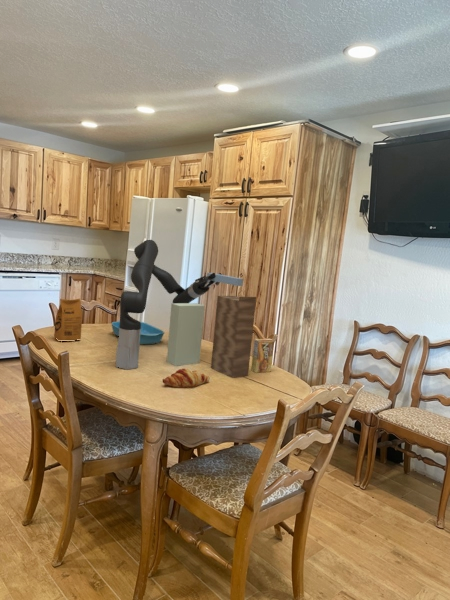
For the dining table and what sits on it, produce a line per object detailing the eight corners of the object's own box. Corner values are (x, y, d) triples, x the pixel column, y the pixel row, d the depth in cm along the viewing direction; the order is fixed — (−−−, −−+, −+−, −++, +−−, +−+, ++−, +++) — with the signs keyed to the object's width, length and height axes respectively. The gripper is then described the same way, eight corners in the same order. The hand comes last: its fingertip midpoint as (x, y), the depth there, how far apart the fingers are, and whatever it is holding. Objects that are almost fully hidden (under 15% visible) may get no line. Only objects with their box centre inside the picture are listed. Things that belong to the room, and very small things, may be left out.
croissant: (204, 387, 180) (201, 369, 182) (216, 383, 172) (214, 364, 175) (158, 392, 168) (156, 372, 171) (169, 388, 160) (167, 367, 163)
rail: (242, 286, 189) (243, 278, 189) (237, 285, 187) (237, 278, 187) (211, 279, 207) (212, 273, 206) (206, 279, 205) (207, 272, 204)
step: (199, 363, 204) (204, 305, 200) (174, 366, 195) (179, 305, 192) (191, 359, 209) (196, 303, 206) (166, 361, 200) (171, 303, 197)
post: (247, 375, 191) (256, 297, 187) (232, 378, 185) (240, 297, 181) (225, 365, 203) (233, 291, 199) (210, 367, 198) (218, 291, 193)
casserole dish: (170, 345, 234) (171, 332, 233) (132, 348, 220) (133, 334, 219) (139, 331, 263) (140, 319, 262) (104, 332, 249) (105, 320, 248)
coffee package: (52, 338, 223) (54, 297, 220) (75, 337, 231) (77, 297, 228) (58, 343, 215) (60, 300, 212) (82, 341, 223) (85, 300, 220)
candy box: (266, 369, 204) (269, 338, 203) (271, 371, 201) (274, 340, 199) (250, 370, 200) (254, 338, 198) (255, 373, 196) (259, 340, 194)
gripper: (185, 281, 210) (204, 266, 197) (208, 281, 218) (227, 268, 206) (188, 295, 208) (207, 281, 195) (211, 295, 216) (231, 282, 204)
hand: (217, 274), depth 200 cm, fingers closed on rail, 3 cm apart
